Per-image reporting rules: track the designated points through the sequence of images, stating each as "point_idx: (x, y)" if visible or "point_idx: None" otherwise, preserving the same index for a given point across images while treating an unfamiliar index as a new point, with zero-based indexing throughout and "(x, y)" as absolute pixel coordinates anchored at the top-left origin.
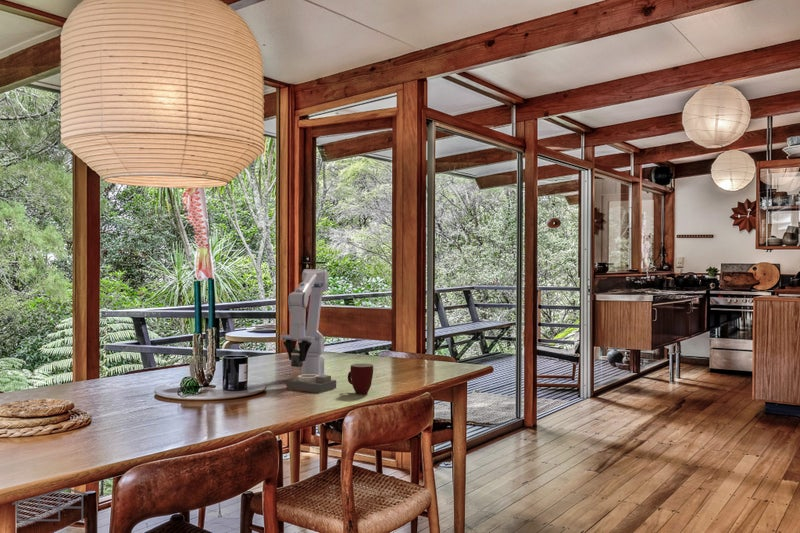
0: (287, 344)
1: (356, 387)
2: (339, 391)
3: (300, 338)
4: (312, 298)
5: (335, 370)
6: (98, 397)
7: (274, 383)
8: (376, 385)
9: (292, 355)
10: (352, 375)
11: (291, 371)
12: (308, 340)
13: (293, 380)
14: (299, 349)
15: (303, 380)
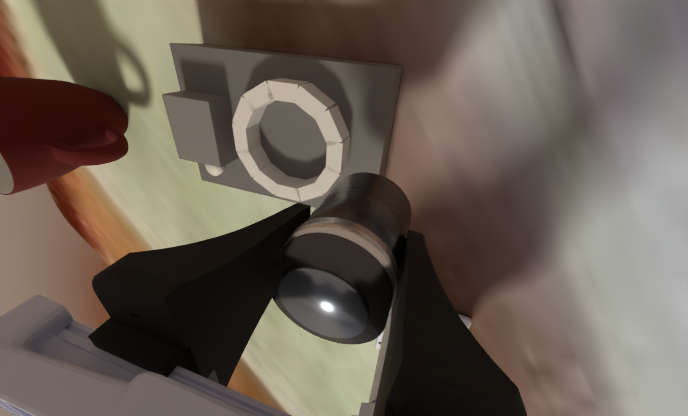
0: (418, 347)
1: (67, 82)
2: None
3: (78, 380)
4: None
5: None
6: None
7: (541, 184)
8: (176, 242)
9: (361, 225)
10: (11, 84)
11: (544, 411)
12: (80, 352)
13: (357, 91)
14: (300, 304)
15: (281, 78)
